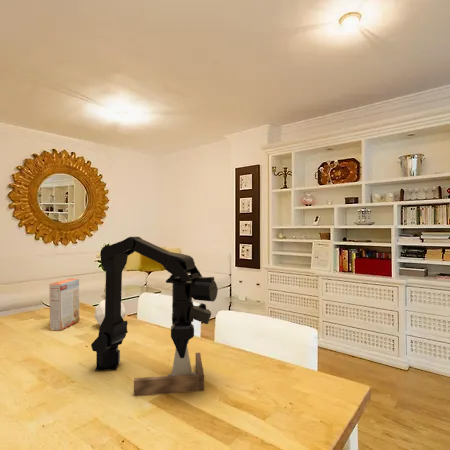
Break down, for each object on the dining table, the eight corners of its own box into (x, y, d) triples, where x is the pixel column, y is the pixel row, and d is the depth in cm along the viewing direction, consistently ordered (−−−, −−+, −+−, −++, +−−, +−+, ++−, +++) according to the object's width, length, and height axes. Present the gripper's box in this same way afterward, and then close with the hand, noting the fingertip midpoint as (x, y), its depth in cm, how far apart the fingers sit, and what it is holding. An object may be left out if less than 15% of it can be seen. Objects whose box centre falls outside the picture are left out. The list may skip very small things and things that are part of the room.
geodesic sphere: (83, 314, 147) (94, 292, 142) (109, 307, 158) (120, 287, 154) (98, 337, 140) (110, 315, 136) (124, 329, 152) (135, 309, 147)
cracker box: (68, 321, 155) (68, 278, 155) (79, 321, 154) (80, 278, 154) (48, 330, 141) (48, 283, 141) (61, 331, 140) (61, 283, 140)
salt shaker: (194, 376, 96) (194, 333, 96) (187, 386, 90) (187, 339, 91) (176, 374, 97) (176, 332, 98) (168, 383, 92) (168, 338, 92)
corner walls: (133, 395, 86) (133, 380, 86) (141, 368, 103) (141, 355, 103) (204, 390, 89) (204, 376, 89) (200, 364, 106) (200, 352, 106)
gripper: (212, 305, 86) (212, 363, 86) (206, 291, 104) (206, 339, 104) (170, 306, 84) (170, 365, 84) (172, 292, 103) (172, 341, 103)
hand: (182, 351), depth 94 cm, fingers open, 9 cm apart
